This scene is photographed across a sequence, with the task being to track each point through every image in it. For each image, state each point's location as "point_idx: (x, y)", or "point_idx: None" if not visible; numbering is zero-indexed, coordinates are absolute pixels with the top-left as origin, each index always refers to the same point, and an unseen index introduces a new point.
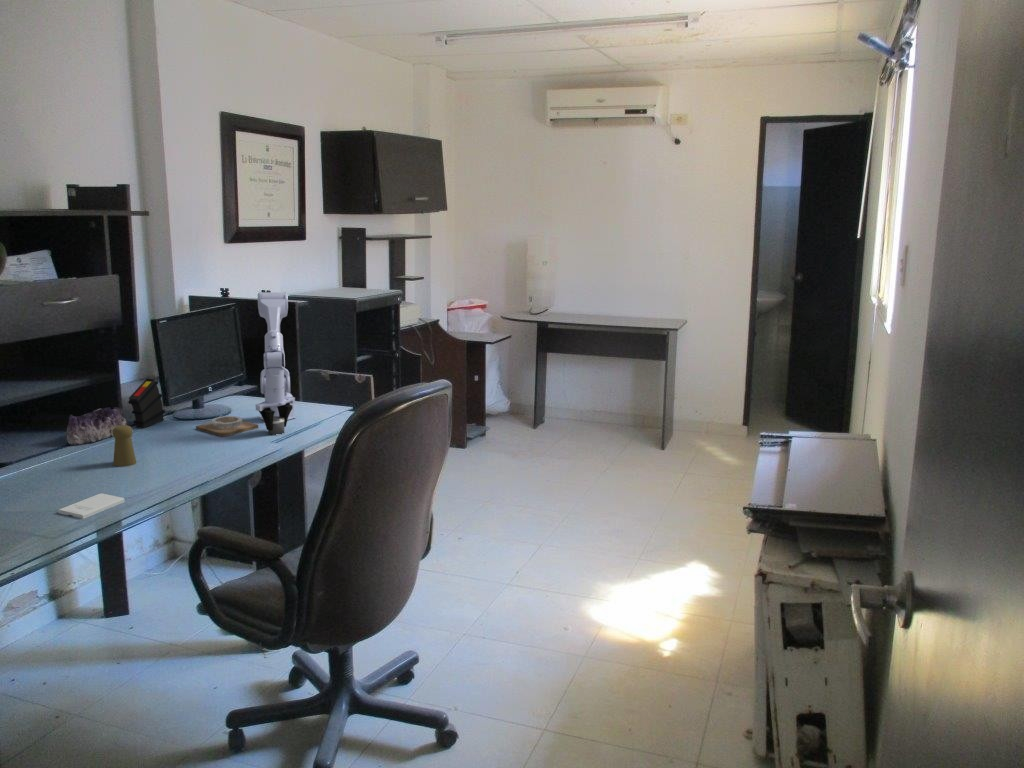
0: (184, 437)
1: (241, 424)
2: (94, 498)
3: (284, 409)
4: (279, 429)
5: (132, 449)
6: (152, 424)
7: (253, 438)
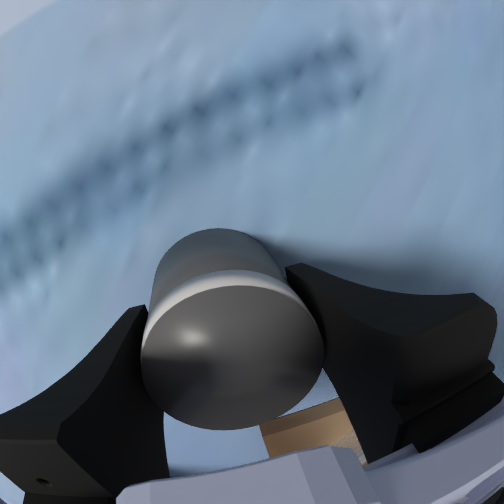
0: (497, 376)
1: (341, 446)
2: None
3: (115, 449)
4: (227, 244)
5: None
6: None
7: (406, 246)
